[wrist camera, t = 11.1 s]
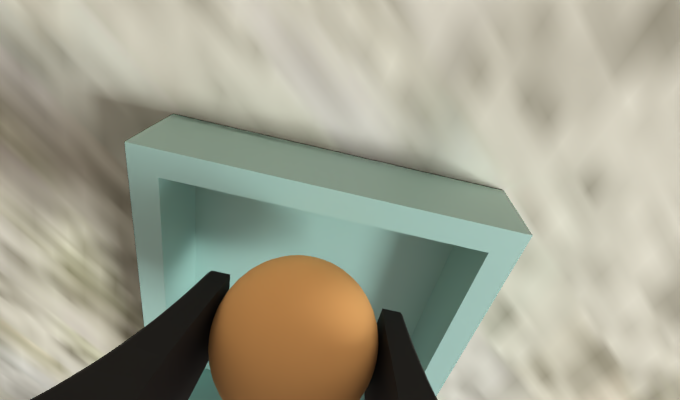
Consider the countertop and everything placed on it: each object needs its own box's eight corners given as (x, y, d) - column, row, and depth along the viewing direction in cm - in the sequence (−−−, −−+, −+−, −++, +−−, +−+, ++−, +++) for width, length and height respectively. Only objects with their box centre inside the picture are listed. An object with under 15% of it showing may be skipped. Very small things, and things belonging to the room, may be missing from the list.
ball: (396, 244, 12) (406, 386, 8) (359, 340, 14) (351, 489, 10) (248, 208, 12) (172, 333, 7) (237, 312, 14) (175, 450, 10)
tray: (390, 414, 22) (391, 470, 19) (181, 368, 22) (154, 419, 19) (503, 190, 14) (532, 235, 11) (173, 113, 14) (124, 141, 11)
